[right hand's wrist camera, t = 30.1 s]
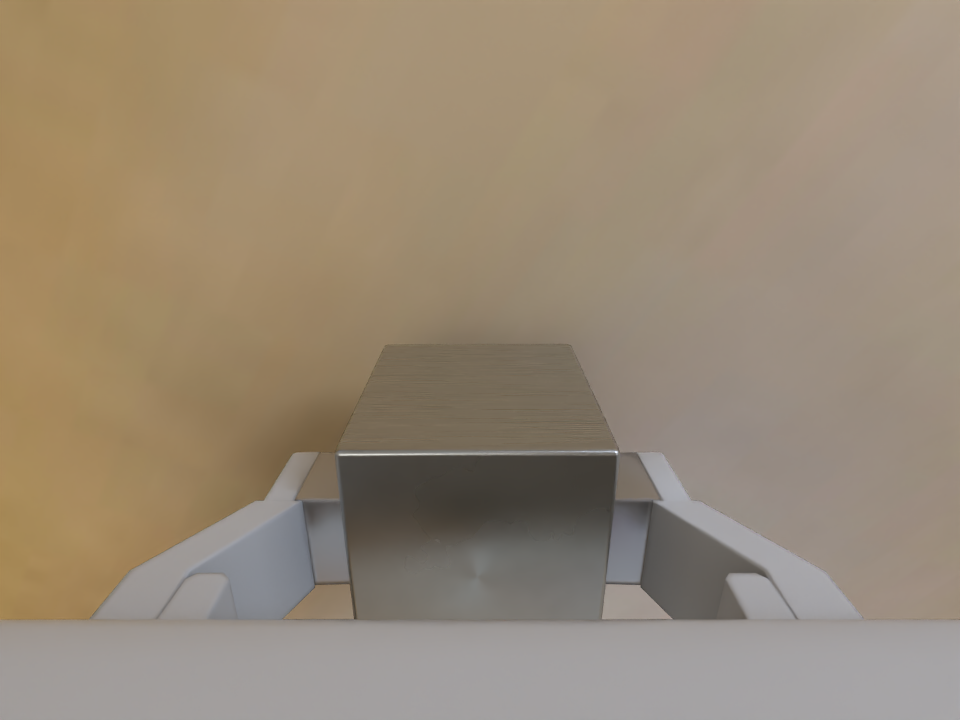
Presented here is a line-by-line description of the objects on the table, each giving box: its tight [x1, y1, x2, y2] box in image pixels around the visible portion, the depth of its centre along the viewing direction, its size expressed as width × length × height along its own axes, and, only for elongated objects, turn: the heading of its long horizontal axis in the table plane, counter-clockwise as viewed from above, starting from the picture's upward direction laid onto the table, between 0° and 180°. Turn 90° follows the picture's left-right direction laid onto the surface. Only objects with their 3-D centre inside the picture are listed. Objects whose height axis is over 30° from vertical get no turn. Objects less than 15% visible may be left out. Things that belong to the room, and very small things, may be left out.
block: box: [334, 344, 620, 619], centre depth 10 cm, size 4×5×4 cm
